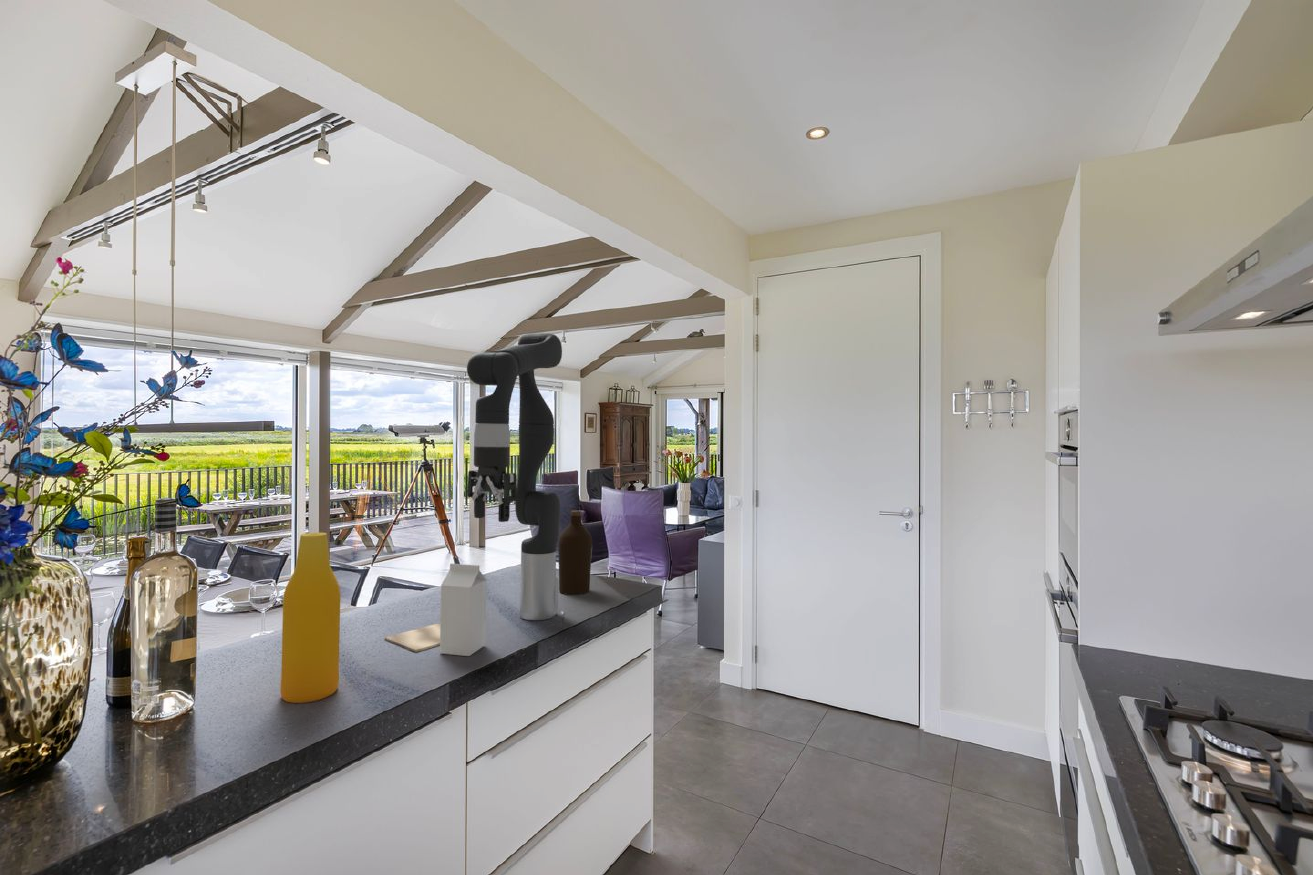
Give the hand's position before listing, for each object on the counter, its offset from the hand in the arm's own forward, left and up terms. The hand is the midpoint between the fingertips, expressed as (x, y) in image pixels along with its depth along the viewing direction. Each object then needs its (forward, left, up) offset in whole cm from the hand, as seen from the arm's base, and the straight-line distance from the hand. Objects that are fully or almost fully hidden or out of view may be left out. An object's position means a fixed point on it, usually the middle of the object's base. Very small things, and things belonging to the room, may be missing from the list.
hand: (491, 519), depth 129 cm
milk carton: (+1, -7, -30) cm, 31 cm away
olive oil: (-52, -25, -30) cm, 65 cm away
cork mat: (+1, -20, -30) cm, 36 cm away
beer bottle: (+32, -9, -30) cm, 45 cm away
